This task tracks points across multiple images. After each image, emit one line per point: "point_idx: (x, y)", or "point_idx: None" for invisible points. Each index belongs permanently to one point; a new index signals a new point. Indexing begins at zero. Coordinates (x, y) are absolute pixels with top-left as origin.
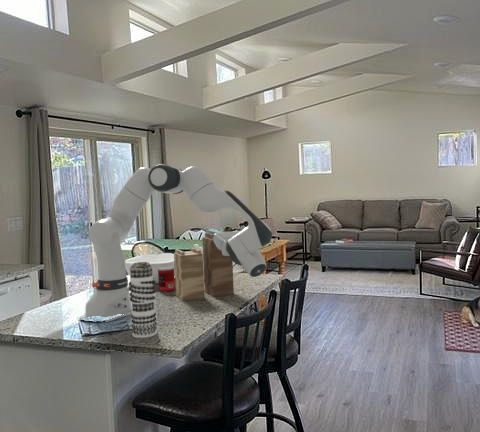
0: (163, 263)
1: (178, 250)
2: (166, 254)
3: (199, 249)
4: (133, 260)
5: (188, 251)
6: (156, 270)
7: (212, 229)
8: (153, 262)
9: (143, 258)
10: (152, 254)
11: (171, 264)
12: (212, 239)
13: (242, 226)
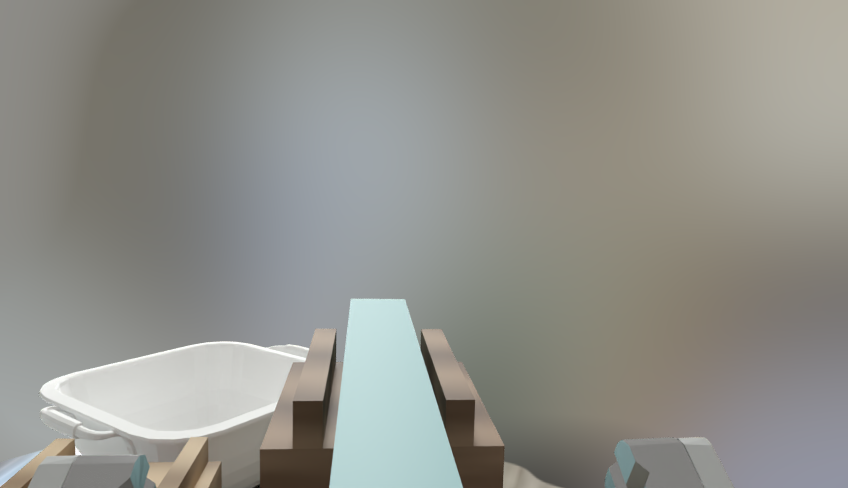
0: (165, 442)
1: (14, 478)
2: (298, 352)
3: None
4: (143, 368)
5: (163, 466)
6: None
7: (397, 302)
8: (245, 378)
9: (210, 357)
10: (249, 344)
11: (236, 437)
12: (285, 444)
13: (668, 473)
